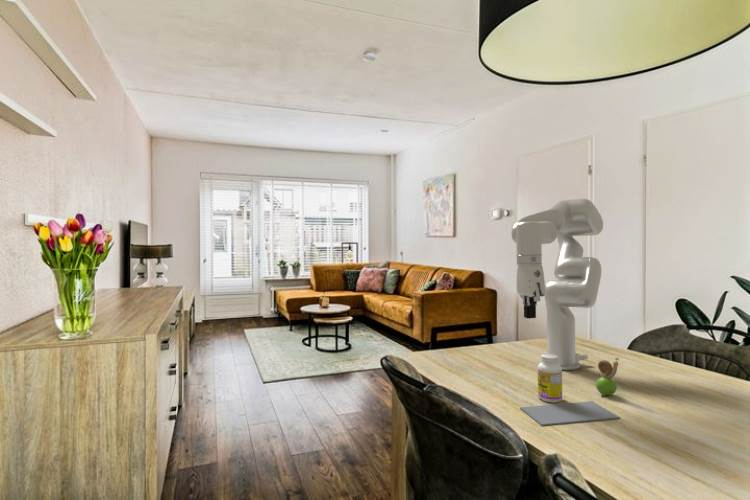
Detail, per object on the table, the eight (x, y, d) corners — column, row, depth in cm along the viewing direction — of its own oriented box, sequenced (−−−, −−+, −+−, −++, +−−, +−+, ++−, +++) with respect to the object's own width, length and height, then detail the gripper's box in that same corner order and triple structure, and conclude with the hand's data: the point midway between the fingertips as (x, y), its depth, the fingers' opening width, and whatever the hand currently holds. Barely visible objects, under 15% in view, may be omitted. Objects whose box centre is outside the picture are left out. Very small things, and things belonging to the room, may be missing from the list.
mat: (592, 402, 120) (592, 401, 120) (619, 418, 109) (619, 417, 109) (520, 408, 117) (520, 407, 117) (541, 425, 106) (541, 424, 106)
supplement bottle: (534, 395, 127) (533, 353, 127) (555, 394, 127) (554, 352, 127) (544, 403, 120) (544, 359, 120) (566, 402, 121) (566, 358, 121)
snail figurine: (612, 400, 121) (612, 359, 121) (592, 393, 127) (591, 354, 127) (624, 397, 124) (623, 356, 124) (603, 390, 130) (603, 351, 129)
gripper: (553, 261, 127) (554, 321, 127) (528, 259, 142) (528, 313, 142) (530, 261, 126) (531, 322, 126) (507, 259, 141) (508, 314, 141)
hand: (529, 317), depth 134 cm, fingers closed
